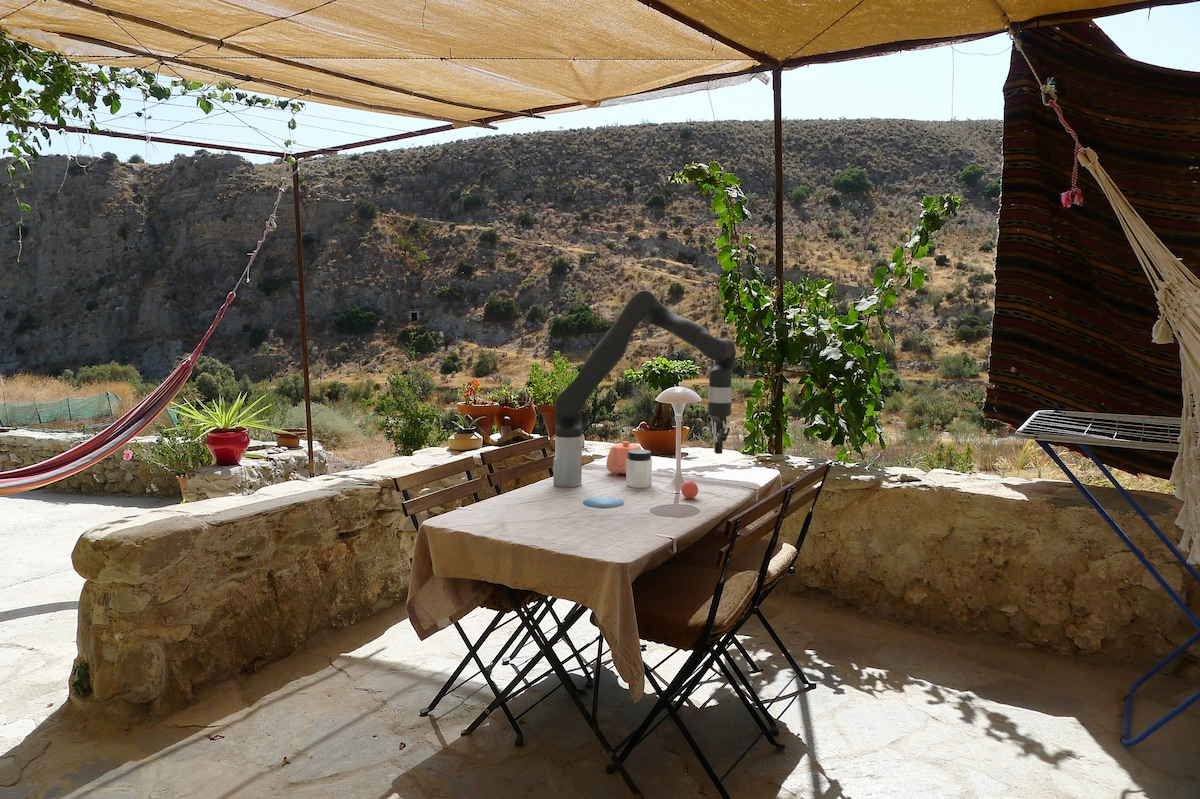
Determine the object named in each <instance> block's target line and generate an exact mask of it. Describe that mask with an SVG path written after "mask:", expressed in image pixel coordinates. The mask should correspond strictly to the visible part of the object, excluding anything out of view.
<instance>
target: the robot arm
mask: <svg viewBox="0 0 1200 799" xmlns="http://www.w3.org/2000/svg"><path fill="white" fill-rule="evenodd" d="M641 321H643V322H645V323H647V324H650V325H652V326H656V327H659V328H661V329H663V330H665V331H668V333H671V334H673V335H674V336H675V337H677V338H679V339H680V340H682V341H684V342H685V343H686V344H688V345H690V346H692V347H693V348H696V349H697V350H698V351H699V352H700V353H701V354H703V356H705V357H706V358H708V359H709V360H712V361H714V362H715V363H714V366H713V368H712V369H710V372H709V376H708V377H709V379H708V382H709V384H708V385H709V386H708V393H707V394H708V395H707V414H708V415H709V416H711V421H710V422H708V427H709V432H710V436H711V439H713V442H714V448H713V449H714V453H715V454H716V455H719V454H720V455H721V454H723V445H724V444H723V443H724V442H726V441H727V438H728V435H730V434H729V433H730V429H731V428H730V427H728V422H727V417H730V416H731V415H732V398H733V397H732V396H733V395H732V393H733V392H732V373H733V368H734V364H735V360H736V352H737V351H736V346H735V343H734V342H733V341H732V340H731V339H729V338H717V337H715V336H713V335H712V334H711V332H710V330H708V329H707V328H705V327H704V326H702V325H701V324H698V323H697V322H695V321H693V320H691V319H688V318H686V317H683V316H680V315H678V314H677V313H674V312H673V311H671V310H670V309H668V308H667V307H666V306H664V304H662V303H661V302H660V300H659V299H658V298H657V296H656V295H655V294H653V292H651V291H650V290H647V289H642V290H638V291H636V292H635V293H634V294H633V295H632V296H631V298H630V299H629V300H628V302H627V303H626V305H625V307H624V309H623V310H622V311H621V313H620V315H618V318H617V319H616V320H615V322H614V323H613V324H612V326H611V327H610V328H609V330H608V331H607V333H606V334H605V335H604V336H603V337H602V339H601V340H599V342H598V343H597V344H596V346H595V347H594V348H593V350H592V351H591V353H590V354H589V355H588V357H587V358H586V360H585V362H584V363H583V366H582V367H581V369H580V371H579V373H578V374H577V376H575V378H574V379H573V381H572V382H570V384H569V385H567V387H566V388H564V389H562V390H561V391H559V392H557V395H556V396H555V397H556V398H555V400H554V401H555V403H554V405H555V410H554V411H555V412H554V414H555V416H554V417H555V418H554V421H555V422H554V426H555V427H554V428H555V429H554V433H555V434H554V435H555V436H554V438H555V439H554V444H555V445H554V449H555V450H554V457H553V461H552V462H553V463H552V464H553V469H552V472H553V474H552V475H553V476H552V478H553V479H552V481H553V486H557V487H562V488H574V487H575V488H576V487H579V486H581V485H582V479H583V478H582V476H583V474H582V473H583V472H582V470H583V469H582V465H583V464H582V463H583V459H582V458H583V457H582V456H583V421H582V420H583V407H584V405H585V403H586V402H587V400H588V398H590V396H591V394H592V393H593V391H594V390H595V389H596V388H597V387H598V386H599V385H600V383H602V381H603V380H604V379H605V378H606V377H607V376H608V375H609V374H610V372H612V371H613V369H614V368H615V367H616V366H617V364H618V363H619V362H620V361H621V359H622V357H623V356H624V354H625V352H626V351H627V350H626V349H627V347H628V345H629V341H630V339H631V336H632V334H633V332H634V330H635V329H636V328H637V326H638V325H639V324H640V323H641Z"/></svg>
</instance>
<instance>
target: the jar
mask: <svg viewBox="0 0 1200 799" xmlns="http://www.w3.org/2000/svg"><path fill="white" fill-rule="evenodd" d="M652 465H653V460H652V451H651V450H648V449H641V450H640V449H636V450H629V451H628V459H626V474H625V486H626V487H631V488H633V489H642V488H643V489H647V488H649V487H650V486H652V478H653V477H652V472H653V471H652V470H653V469H652V468H653V466H652Z"/></svg>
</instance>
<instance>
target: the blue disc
mask: <svg viewBox="0 0 1200 799" xmlns="http://www.w3.org/2000/svg"><path fill="white" fill-rule="evenodd" d="M582 504H583V505H585V506H587V507H592V508H598V509H599V508H601V509H606V508H607V509H608V508H617V507H621V506H623V505H624V504H625V500H622V499H621V498H616V497H611V496H596V497H595V496H594V497H589V498H586V499H584V500H582Z"/></svg>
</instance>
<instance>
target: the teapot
mask: <svg viewBox="0 0 1200 799" xmlns="http://www.w3.org/2000/svg"><path fill="white" fill-rule="evenodd" d="M636 449H640V450H642V448H641V446H640V445H639V444H638V445H637V444H636V443H633V444H631V442H630V441H627V440H626V441H625V440H624V441H622V443H618V444H615V445H612V446H611V447H610V449H609V452H608V454H607V457H606V464H605V465H606V468H607V470H608V472H611V473H612V474H611V475H612V476H618V475H619V474H625V475H626V459H628V451H629V450H636Z"/></svg>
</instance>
